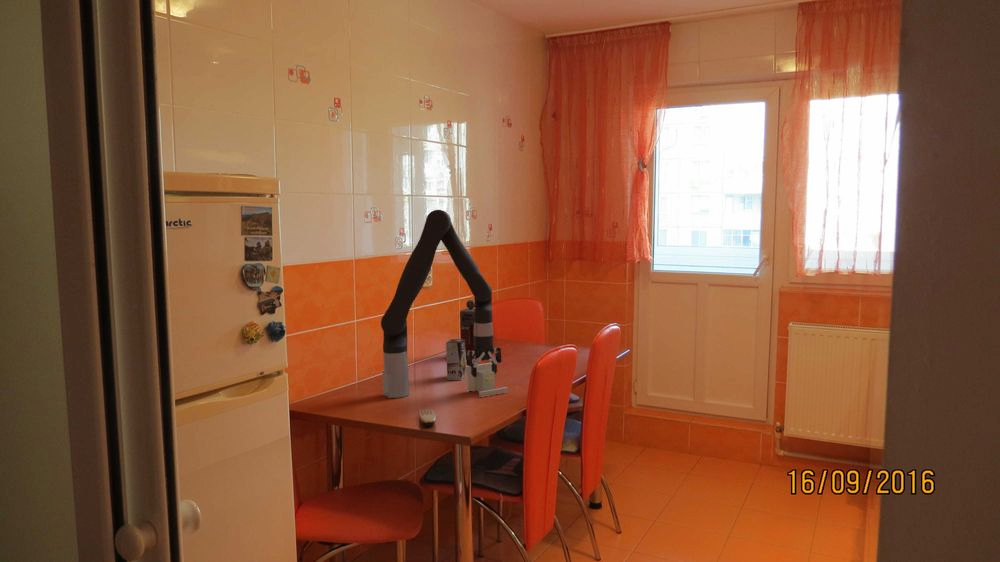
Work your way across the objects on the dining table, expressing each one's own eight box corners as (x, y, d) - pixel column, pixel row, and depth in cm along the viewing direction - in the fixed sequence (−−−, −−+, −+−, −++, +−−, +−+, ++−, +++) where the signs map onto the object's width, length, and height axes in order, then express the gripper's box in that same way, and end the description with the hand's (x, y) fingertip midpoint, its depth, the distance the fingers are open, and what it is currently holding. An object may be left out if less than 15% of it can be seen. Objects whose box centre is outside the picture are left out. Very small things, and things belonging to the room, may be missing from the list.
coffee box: (461, 380, 292) (460, 342, 291) (446, 380, 294) (445, 342, 292) (467, 375, 301) (465, 338, 300) (452, 375, 302) (451, 338, 301)
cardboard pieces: (480, 397, 263) (479, 371, 262) (466, 391, 273) (465, 366, 272) (507, 392, 269) (507, 367, 268) (493, 387, 279) (492, 362, 278)
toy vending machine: (459, 359, 336) (457, 301, 334) (467, 354, 347) (465, 298, 345) (477, 359, 334) (474, 301, 331) (484, 355, 344) (482, 298, 342)
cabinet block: (485, 395, 267) (484, 374, 266) (476, 391, 273) (475, 371, 272) (496, 392, 269) (495, 372, 269) (487, 389, 275) (486, 369, 275)
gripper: (471, 337, 263) (472, 379, 264) (504, 333, 270) (505, 374, 271) (462, 334, 269) (463, 375, 271) (494, 331, 276) (495, 371, 278)
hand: (484, 375), depth 271 cm, fingers open, 8 cm apart
